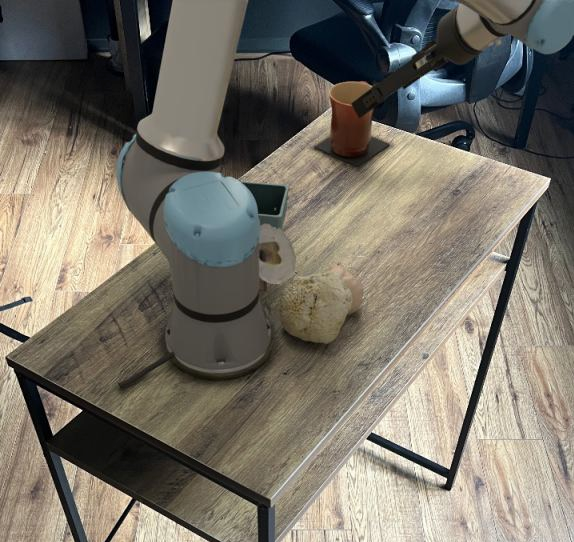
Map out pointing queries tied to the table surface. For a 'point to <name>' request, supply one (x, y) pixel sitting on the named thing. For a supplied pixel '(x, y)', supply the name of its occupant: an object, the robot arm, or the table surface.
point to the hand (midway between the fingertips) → (379, 95)
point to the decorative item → (315, 306)
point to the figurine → (274, 257)
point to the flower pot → (269, 202)
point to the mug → (349, 120)
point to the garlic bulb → (350, 286)
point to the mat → (373, 149)
